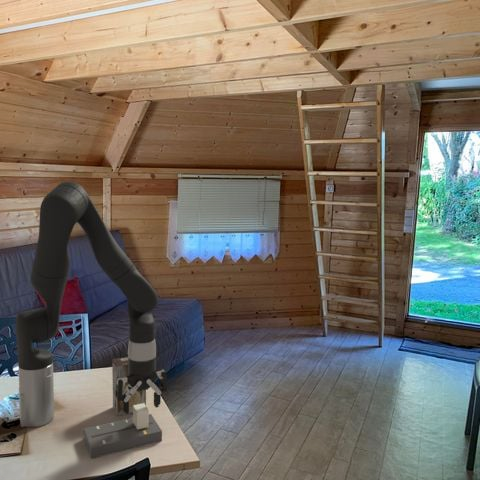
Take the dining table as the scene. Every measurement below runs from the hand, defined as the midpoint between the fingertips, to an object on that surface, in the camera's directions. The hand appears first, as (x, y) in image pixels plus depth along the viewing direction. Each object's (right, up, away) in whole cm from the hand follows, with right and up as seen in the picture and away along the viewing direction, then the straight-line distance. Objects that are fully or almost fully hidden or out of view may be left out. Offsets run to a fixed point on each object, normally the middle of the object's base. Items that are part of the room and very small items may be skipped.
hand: (141, 409), depth 131 cm
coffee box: (-7, -5, +15) cm, 17 cm away
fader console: (-5, -8, -2) cm, 9 cm away
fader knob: (0, -4, 0) cm, 4 cm away
